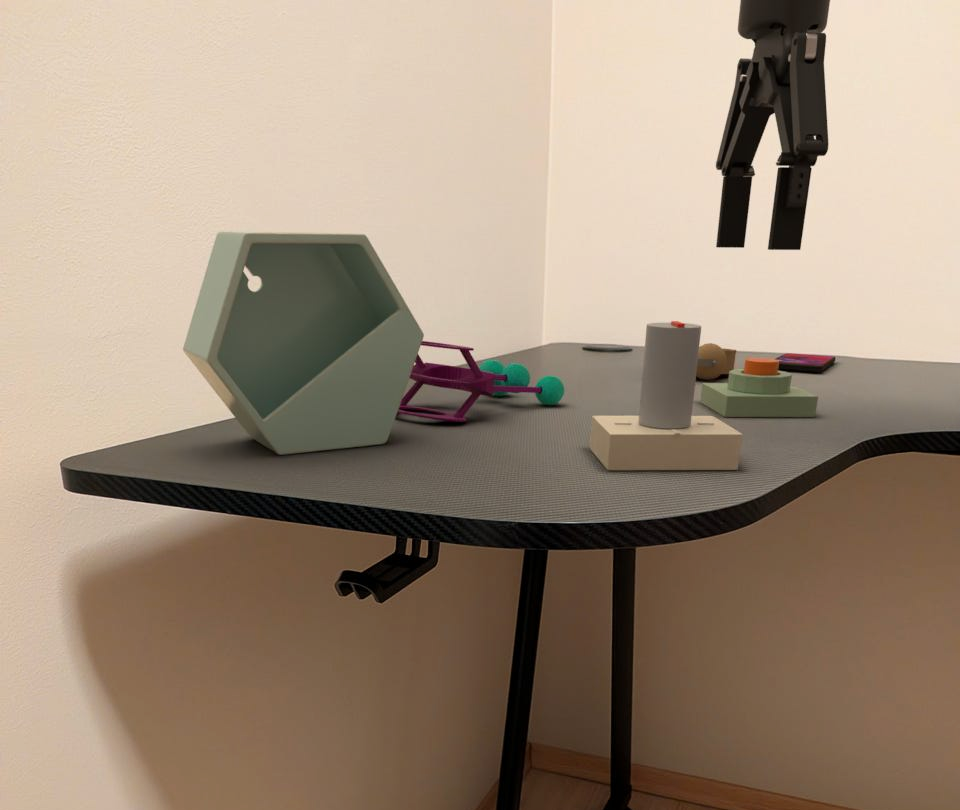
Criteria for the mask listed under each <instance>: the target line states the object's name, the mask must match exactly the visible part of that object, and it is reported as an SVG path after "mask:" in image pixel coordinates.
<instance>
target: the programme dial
mask: <svg viewBox="0 0 960 810" xmlns="http://www.w3.org/2000/svg"><path fill="white" fill-rule="evenodd" d="M701 334H702V325H700V324H695V323H686V322H682V321H678V320H671V321H670V322H650V323H647V324H646V330H645V339H644V340H645V341H644V351H643V362H642V363H643V364H642V374H641V384H640V385H641V386H640V396H639V397H640V399H639V409H638V410H639V411H638V416H639V420H638V422H639V424H641V425H643V426H647V427H653V428H662V429H679V428H686V427H689V426H690V425H691V417H692V416H693V409H694V408H693V407H694V397H695V389H696V381H697V376H696V372H697V363H698V353H699V347H700V345H701V344H700V342H701V336H702V335H701Z"/></svg>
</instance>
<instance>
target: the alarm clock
mask: <svg viewBox="0 0 960 810" xmlns="http://www.w3.org/2000/svg"><path fill="white" fill-rule="evenodd" d="M737 351H738V350H737V349H733V348H723V347H721V346H720V345H718V344H716V343H712V342H710V343H704V344H702V345H699V353H698V363H697V372H696V378H698V379H699V380H703V381H711V380H712V381H713V380H715V379H716V378H718V377H720V376H721V375H729V372H730V371H731V370H734V369H735V363H736V362H735V361H736V354H737Z"/></svg>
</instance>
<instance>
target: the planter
mask: <svg viewBox="0 0 960 810" xmlns="http://www.w3.org/2000/svg"><path fill="white" fill-rule="evenodd" d="M245 268H246V270H247V271H248V273H249V274H250V275H251V276H252V277H258V278H259V279H260V283H261V284H260V286H259V288H257V290H255V291H254V290H251V289H250V288H249V280H250V279H249V278H248V276H247V274H246V273H245V271H244V270H245ZM424 337H425V334H424V332H423V330H422V329H421V326H420V325H419V323H418V321H417V320H416V317H415V316H414V315H413V313H412V311H411V309H410V308H409V306H408V304H407V302H406V301H405V299H404V297H403V295H402V293H401V292H400V290H399V289H398V287H397V285H396V284H395V282H394V281H393V279H392V277H391V275H390V273H389V272H388V270H387V268H386V267H385V265H384V264H383V261H382V260H381V258H380V256H379V254H378V253H377V251H376V250H375V248H374V246H373V245H372V243H371V241H370V239H369V238H368V236H367V235H366V234H364V233H345V232H342V233H341V232H296V231H295V232H291V231H290V232H289V231H286V232H285V231H218V232H217V233H216V236H215V239H214V243H213V246H212V249H211V253H210V256H209V259H208V263H207V266H206V269H205V273H204V275H203V280H202V283H201V286H200V289H199V294H198V297H197V300H196V303H195V307H194V310H193V313H192V316H191V320H190V323H189V327H188V330H187V333H186V338H185V340H184V345H183V347H182V350H183V352H184V354H185V355H186V356H187V358H188V359H189V360H190V361H191V363H192V364H193V365H194V367H195V368H196V369H197V370H198V372H199V373H200V374H201V375H202V377H203V378H204V380H205V381H206V382H207V383H208V385H209V386H210V387H211V388H212V390H213V391H214V392H215V394H216V395H217V396H218V398H220V400H221V401H222V402H223V404H224V405H225V406H226V408H227V409H228V410H229V411H230V413H231V414H232V415H233V417H234V418H235V419H236V420H237V422H238V423H239V424H240V426H241V427H242V428H243V429H244V430H245V432H246V433H247V434H248V436H249V437H250V438H251V439H252V440H254V441H255V442H257V443H259V444H261V445H262V446H264V447H266V448H267V449H269V450H270V451H272V452H274V453H275V454H276V455H279V456H284V455H294V454H303V453H312V452H313V453H314V452H322V451H332V450H341V449H352V448H359V447H370V446H378V445H384V444H386V443H387V441H388V440H389V437H390V434H391V432H392V429H393V426H394V423H395V420H396V417H397V414H398V413H397V412H398V409H399V406H400V403H401V400H402V398H403V397H404V396H405V391H406V388H407V386H408V383H409V380H410V378H409V377H410V375H411V372H412V369H413V366H414V365H415V364H416V363H415V360H416V357H417V354H419V352H420V349H421V346H422V345H421V343H422V341H424ZM399 410H400V409H399Z"/></svg>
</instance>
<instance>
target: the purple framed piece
mask: <svg viewBox="0 0 960 810" xmlns="http://www.w3.org/2000/svg"><path fill="white" fill-rule="evenodd" d="M421 346H425V347H431V348H439V349H449V350H458V351H459V352H460V353H461V355H462V357H463V359H464V361H465V362H466V364H467V366H468V367H469V368H467V367H463V366H462V367H461V366H456V365H449V364H441V363H434V362H424V361H423V359H422V357H421V356H420V354H419V353H418V354H417V357H416V360H415V363H414V366H413V369H412V372H411V375H410V377H409V380H411V381H412V380H413V381H415V382H414V384H413V385H412V386H411V387H410V388H409V390H408V391H407V392H406V393H404V395H403V398H402V400H401V403H400V406H399V409H398V412H397V414H402V415H407V416H412V417H416V418H417V417H419V418H424V419H432V420H438V421H445V422H460V423H461V422H462V423H464V422H467V421H468V417H466V416H465V415H466V414H467V413H468V411H470V409H471V408H472V407H473V406H474V404H475V402H476V401H477V400H478V399H479V398H480V397H481V396H486V397H493V396H498V397H503V396H506V395H508V394H509V393H512V394H519V393H532V394H533V393H534V394H535V397H536V399H537V401H538V402H539V403H541V404H542V405H546V406H553V405H556V404H559V402H560V401H562V399H563V397H564V395H565V386H564V384H563V381H562V379H560V378H559V377H557V376H555V375H544V376H542V377H541V378H539V380H538V381H537V382H536V384H535V386H529V385H530V382H531V375H530V372H529V370H528V368H527V367H526V366H525V365H524V364H522V363H514V362H513V363H509V364H507V365H506V366H504V364H503V363H502V362H501V361H499V360H497V359H496V360H495V359H488V360H484V361H483V362H482V363H481V364H480V365H479V366H478V364H477V362H476V361H475V359H474V357H473V355H472V353H471V351H474V350H475V348H473V347H469V346H463V345H458V344H457V345H456V344H449V343H442V342H435V341H428V340H422V343H421ZM424 385H427V386H432V387H437V388H438V387H439V388H443V389H451V390H457V391H464V392H467V393H470V395H469V396H468V397H467V398H466V400H465V401H464V402H463V404H462V405H461V406H460V407H459V408H458V409H457V411H456V412H455V413H453V412H449V411H443V410H440V409H434V408H428V407H424V406H423V407H422V406H416V405H411V404H409V403H410V401H412V399H413V398H414V397H415V396H416V394H417V393H418V392H419V391H420V389H422V387H423V386H424ZM493 398H494V397H493ZM406 410H415V411H416V410H417V411H423V412H431V413H435V414H427V413H421V412H420V413H419V412H412V411H406Z"/></svg>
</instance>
